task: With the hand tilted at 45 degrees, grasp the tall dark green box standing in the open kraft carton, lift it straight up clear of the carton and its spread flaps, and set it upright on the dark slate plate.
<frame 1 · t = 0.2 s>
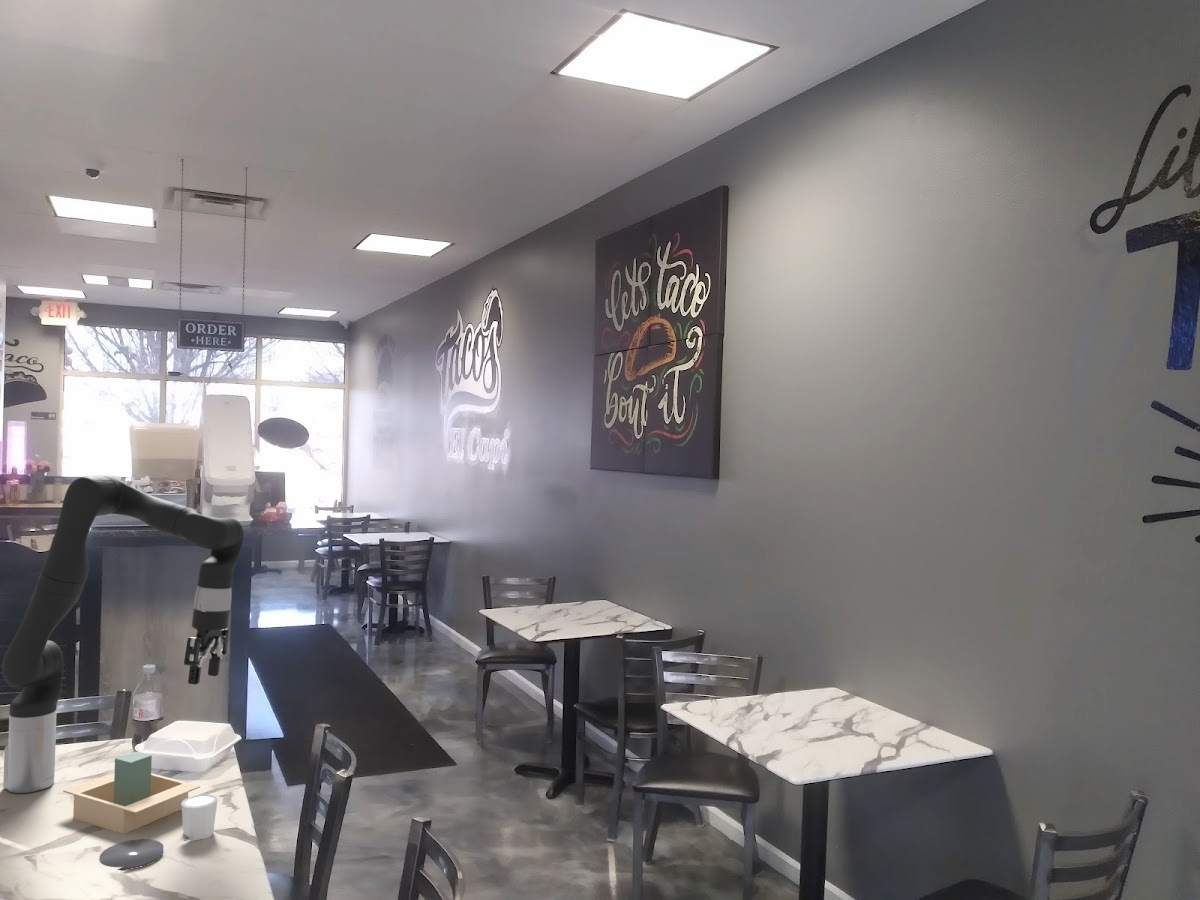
hand: (203, 679, 195), 28 cm above the table, tool pointing down, fingers open, 8 cm apart
white cup: (198, 835, 181), on the table
slate plate: (131, 856, 171), on the table
carton: (131, 816, 189), on the table
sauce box: (131, 812, 189), point 1 cm above the table, touching carton
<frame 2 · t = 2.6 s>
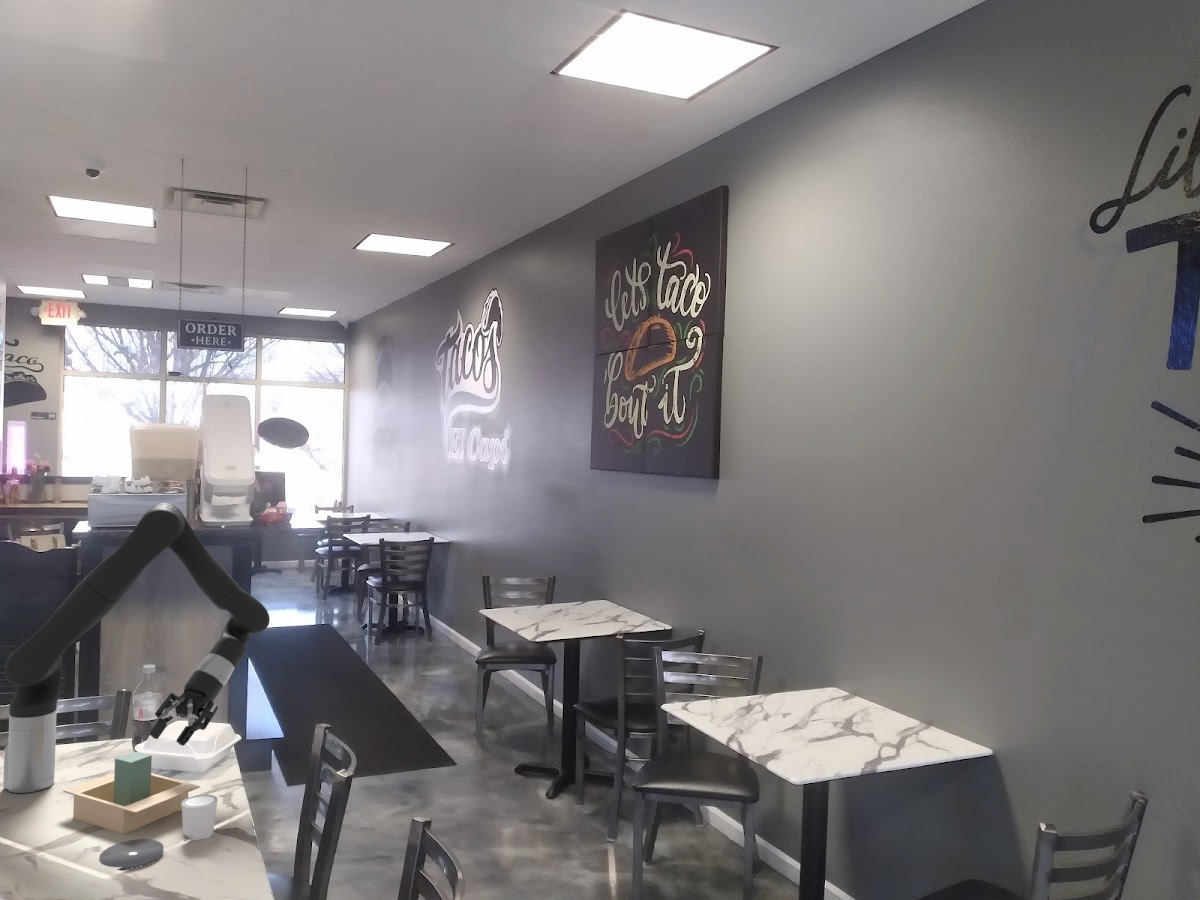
hand: (166, 740, 196), 14 cm above the table, tool tilted 45°, fingers open, 8 cm apart
nothing on the table moved.
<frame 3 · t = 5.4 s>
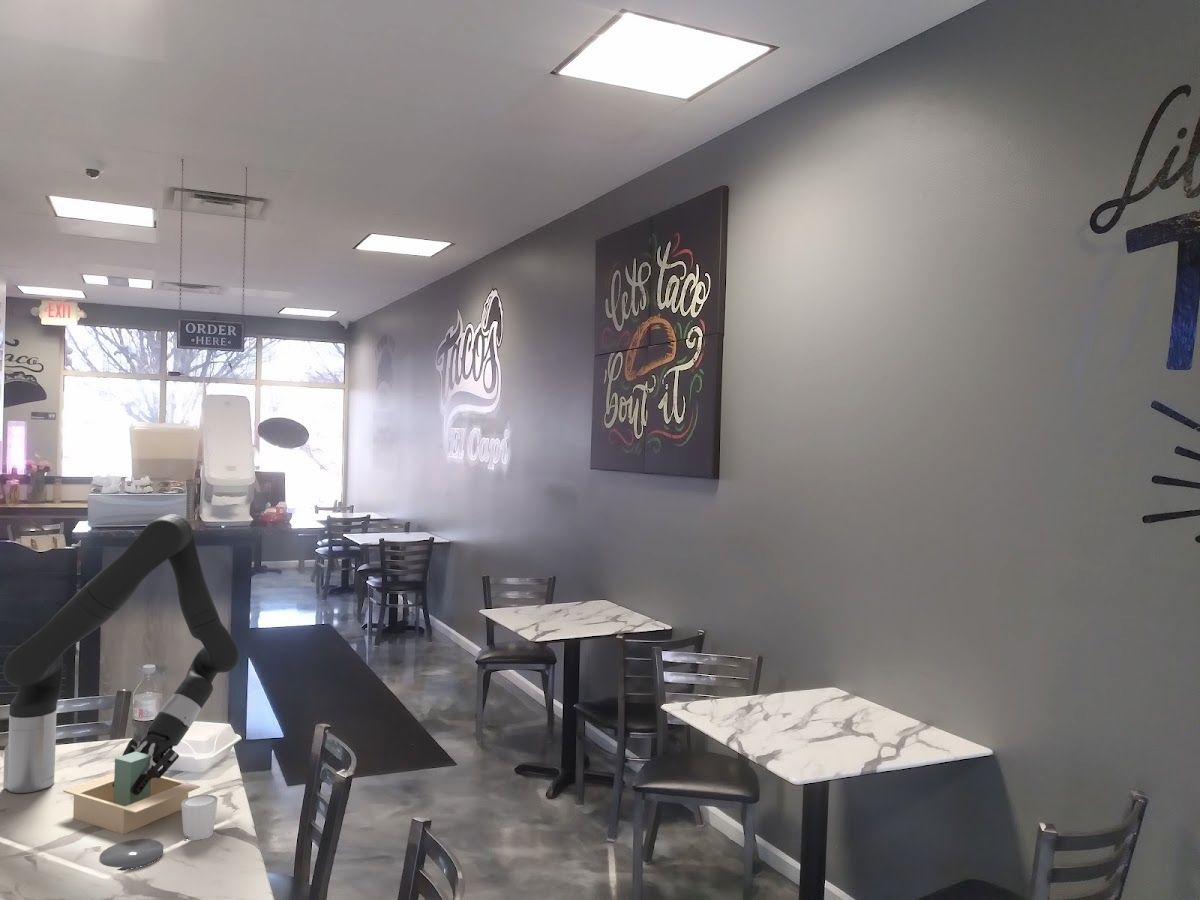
hand: (124, 790, 187), 6 cm above the table, tool tilted 45°, fingers closed on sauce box, 5 cm apart
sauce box: (131, 812, 189), point 1 cm above the table, touching carton, gripper
everything else where it was.
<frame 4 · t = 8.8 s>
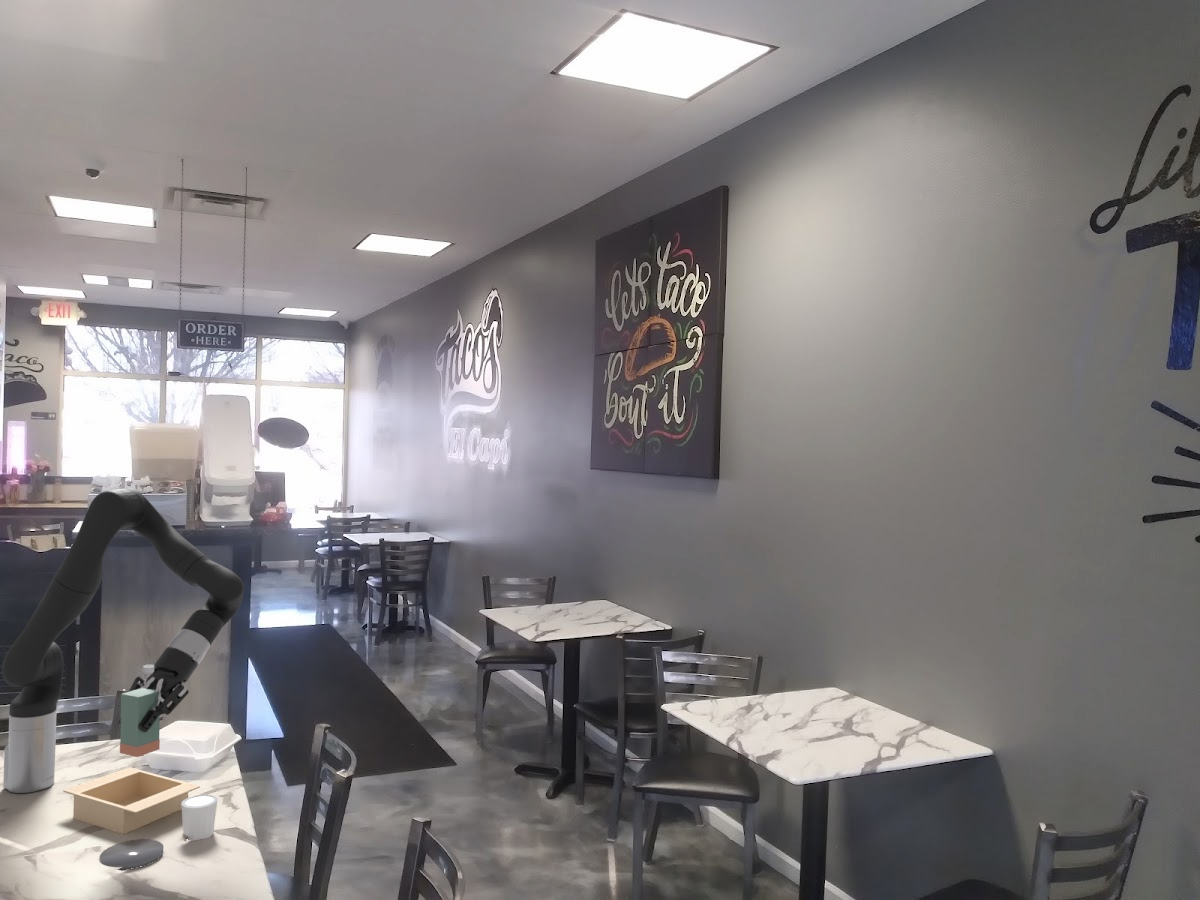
hand: (132, 727, 176), 23 cm above the table, tool tilted 45°, fingers closed on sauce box, 5 cm apart
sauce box: (139, 751, 178), point 18 cm above the table, touching gripper
everything else where it was.
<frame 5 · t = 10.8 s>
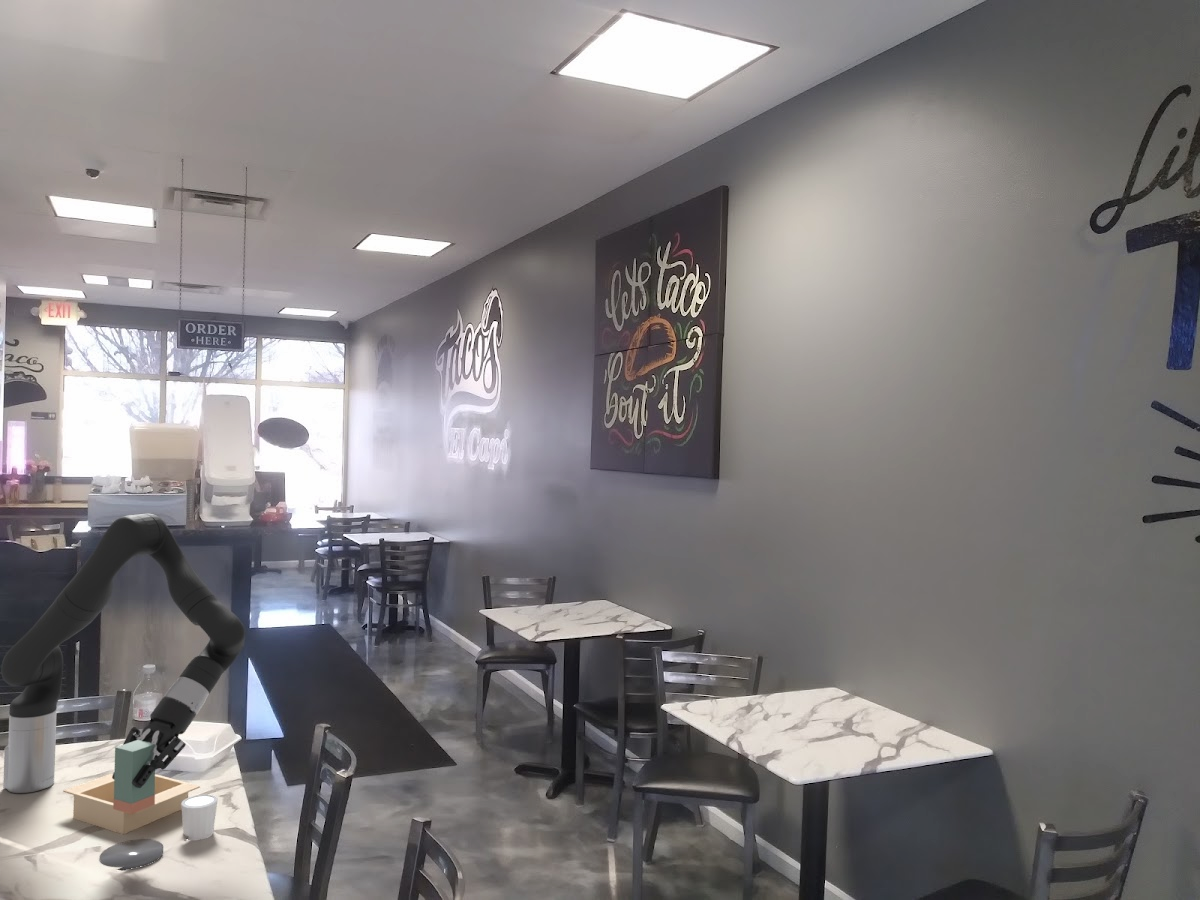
hand: (126, 782, 169), 15 cm above the table, tool tilted 45°, fingers closed on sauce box, 5 cm apart
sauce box: (134, 806, 171), point 10 cm above the table, touching gripper
everything else where it was.
when the fingers open (8 cm above the table, at t = 12.6 s): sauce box drops 1 cm, resting on slate plate.
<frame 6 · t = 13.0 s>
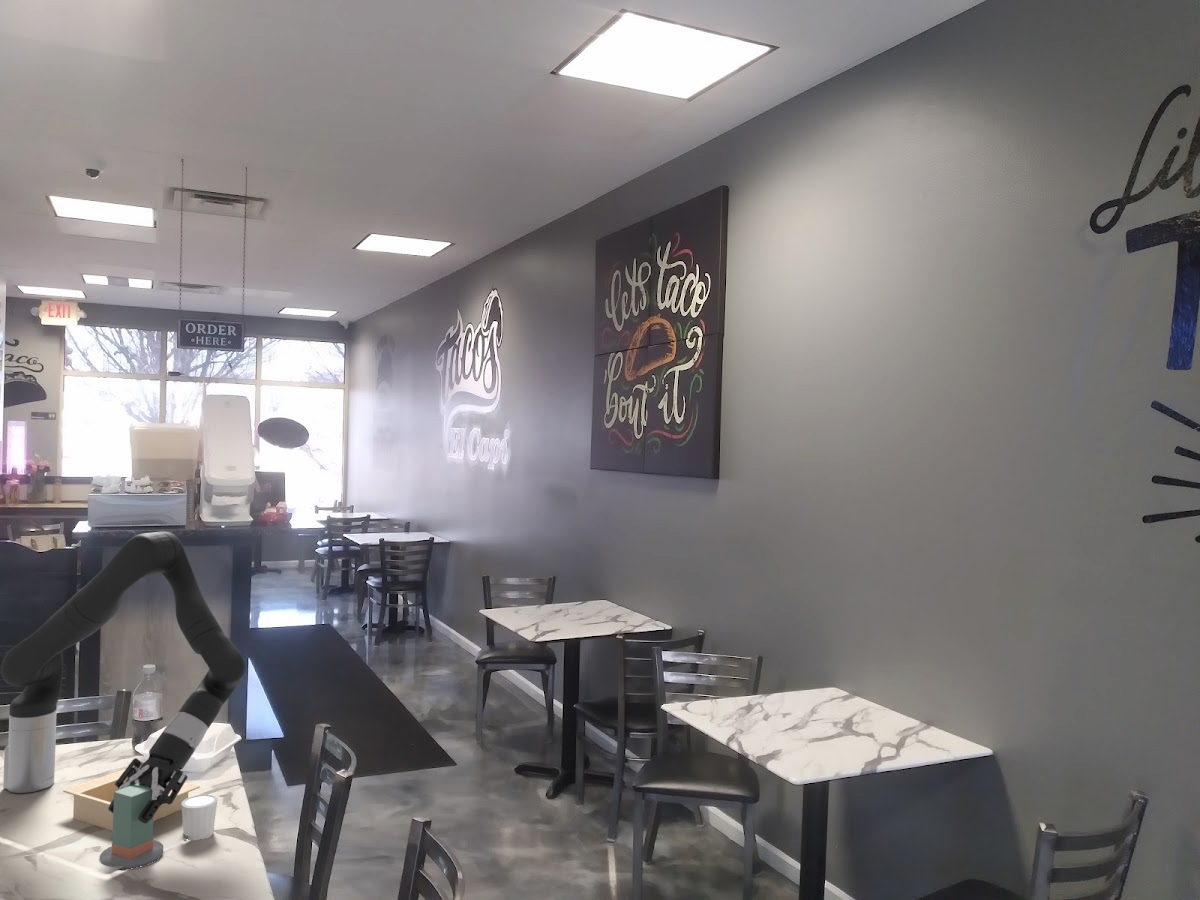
hand: (126, 816, 169), 8 cm above the table, tool tilted 45°, fingers open, 8 cm apart
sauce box: (132, 851, 171), point 1 cm above the table, touching slate plate
everything else where it was.
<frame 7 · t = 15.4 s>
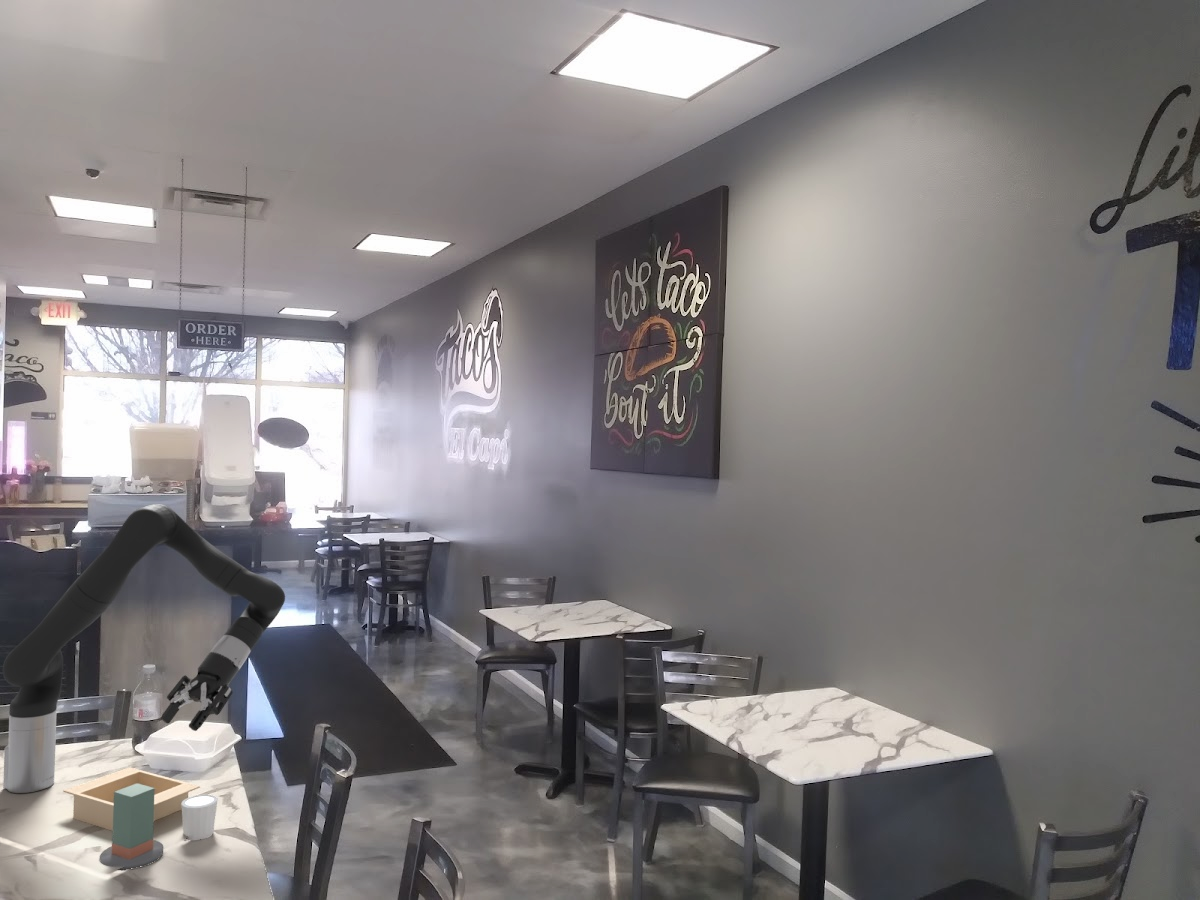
hand: (178, 725, 186), 21 cm above the table, tool tilted 45°, fingers open, 8 cm apart
nothing on the table moved.
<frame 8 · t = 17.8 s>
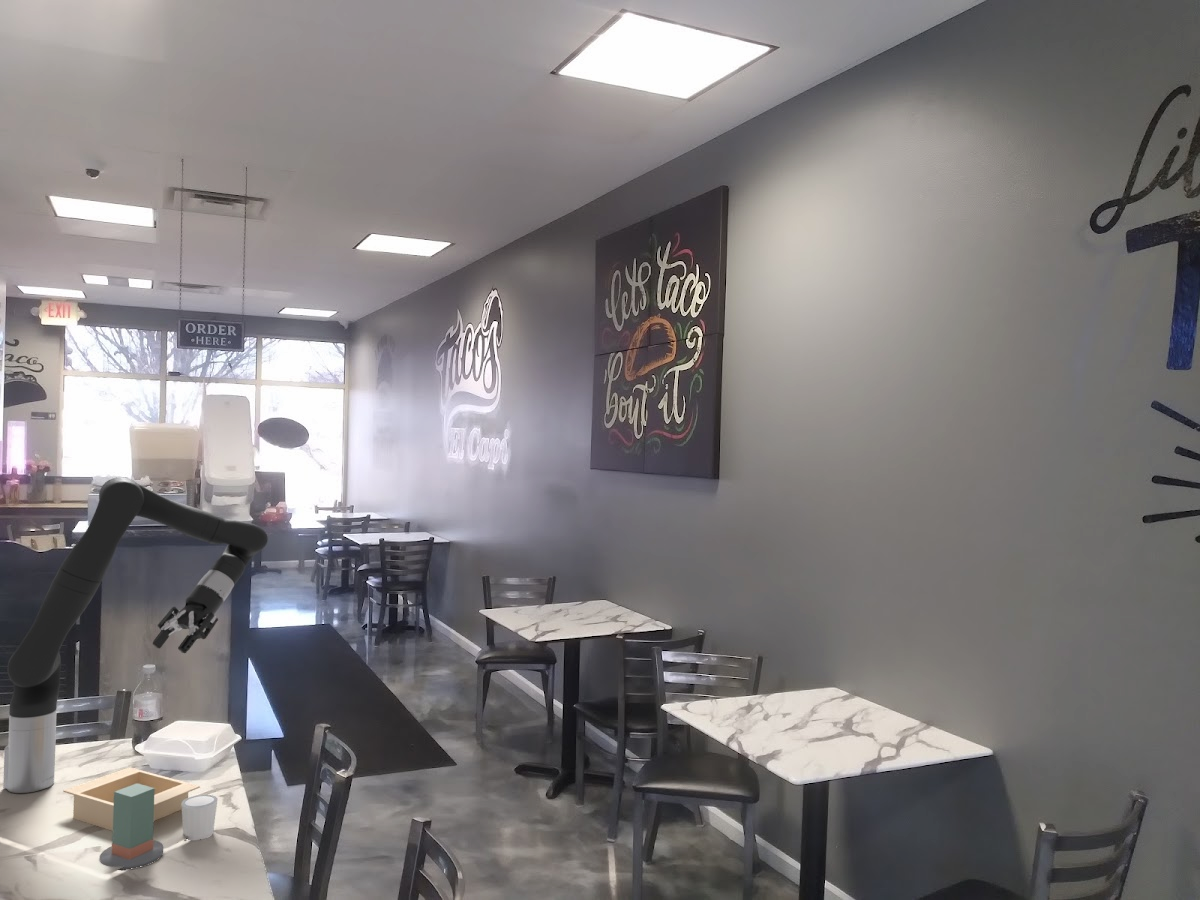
hand: (168, 648, 204), 33 cm above the table, tool tilted 45°, fingers open, 8 cm apart
nothing on the table moved.
at the end: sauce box 0.2 cm off-centre on the slate plate, point 1.0 cm above the slate plate's base; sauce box tilted 0°; the gripper is holding nothing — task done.
